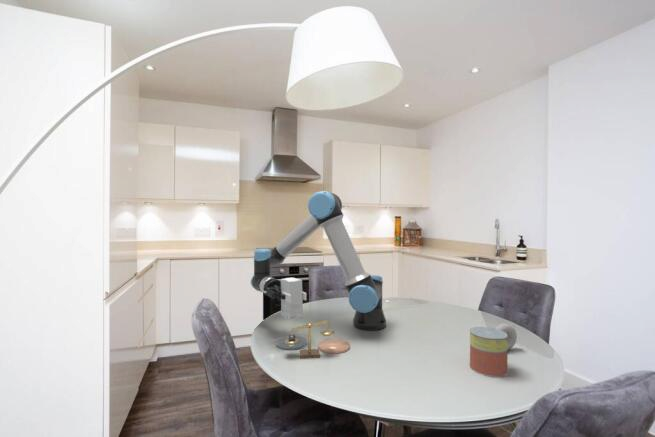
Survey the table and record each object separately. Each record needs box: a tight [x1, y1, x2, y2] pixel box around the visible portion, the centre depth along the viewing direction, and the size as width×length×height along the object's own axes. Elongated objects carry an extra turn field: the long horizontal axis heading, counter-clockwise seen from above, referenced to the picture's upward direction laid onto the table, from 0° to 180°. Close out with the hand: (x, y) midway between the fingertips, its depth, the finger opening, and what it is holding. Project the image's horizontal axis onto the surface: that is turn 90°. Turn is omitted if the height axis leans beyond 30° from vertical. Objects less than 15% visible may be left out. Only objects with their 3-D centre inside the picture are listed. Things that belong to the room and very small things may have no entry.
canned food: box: [469, 326, 509, 378], centre depth 109 cm, size 11×11×12 cm
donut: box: [494, 323, 518, 351], centre depth 125 cm, size 10×4×10 cm, turn 105°
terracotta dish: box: [317, 337, 350, 355], centre depth 127 cm, size 12×12×1 cm
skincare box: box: [280, 276, 304, 321], centre depth 131 cm, size 8×6×15 cm
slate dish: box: [275, 335, 308, 351], centre depth 130 cm, size 12×12×1 cm
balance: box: [285, 319, 335, 360], centre depth 120 cm, size 18×5×12 cm, turn 96°
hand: (298, 297), depth 126 cm, fingers closed on skincare box, 6 cm apart
